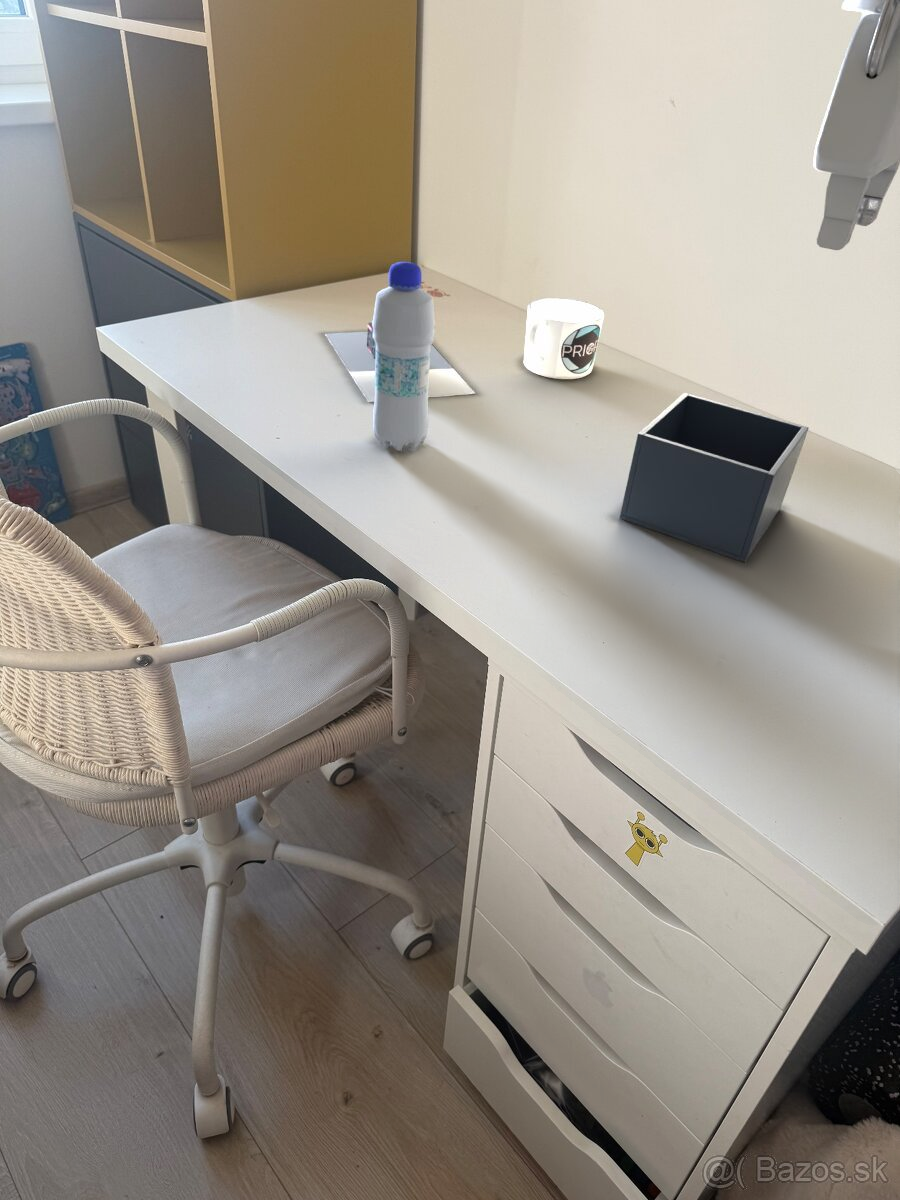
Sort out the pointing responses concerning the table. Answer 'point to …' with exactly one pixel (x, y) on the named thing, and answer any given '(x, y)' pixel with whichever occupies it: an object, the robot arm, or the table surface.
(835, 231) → the robot arm
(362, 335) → the shiny metal sheet
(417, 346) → the bottle
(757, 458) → the bin
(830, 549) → the table surface
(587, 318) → the mug
